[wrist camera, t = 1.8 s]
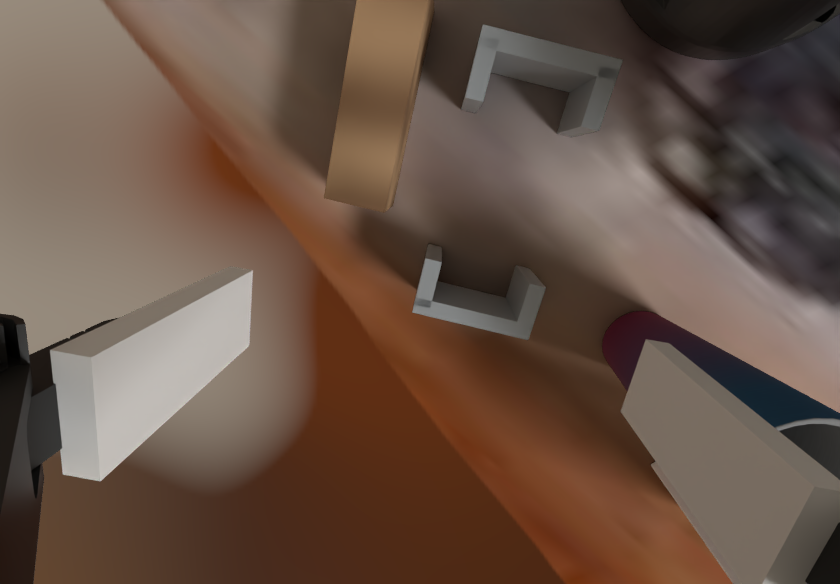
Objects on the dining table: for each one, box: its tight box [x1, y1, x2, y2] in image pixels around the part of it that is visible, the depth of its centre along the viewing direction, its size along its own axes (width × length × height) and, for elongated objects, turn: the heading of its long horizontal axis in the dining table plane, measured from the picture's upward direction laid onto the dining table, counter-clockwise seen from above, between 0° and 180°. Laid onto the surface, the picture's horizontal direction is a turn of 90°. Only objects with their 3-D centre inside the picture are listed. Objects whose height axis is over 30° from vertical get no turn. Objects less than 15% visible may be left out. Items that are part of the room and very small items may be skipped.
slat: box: [324, 0, 434, 213], centre depth 25 cm, size 12×4×5 cm, turn 167°
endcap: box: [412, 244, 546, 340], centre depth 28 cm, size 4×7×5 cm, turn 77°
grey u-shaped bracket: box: [461, 24, 623, 137], centre depth 24 cm, size 4×7×5 cm, turn 77°
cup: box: [602, 311, 840, 480], centre depth 24 cm, size 7×7×15 cm
